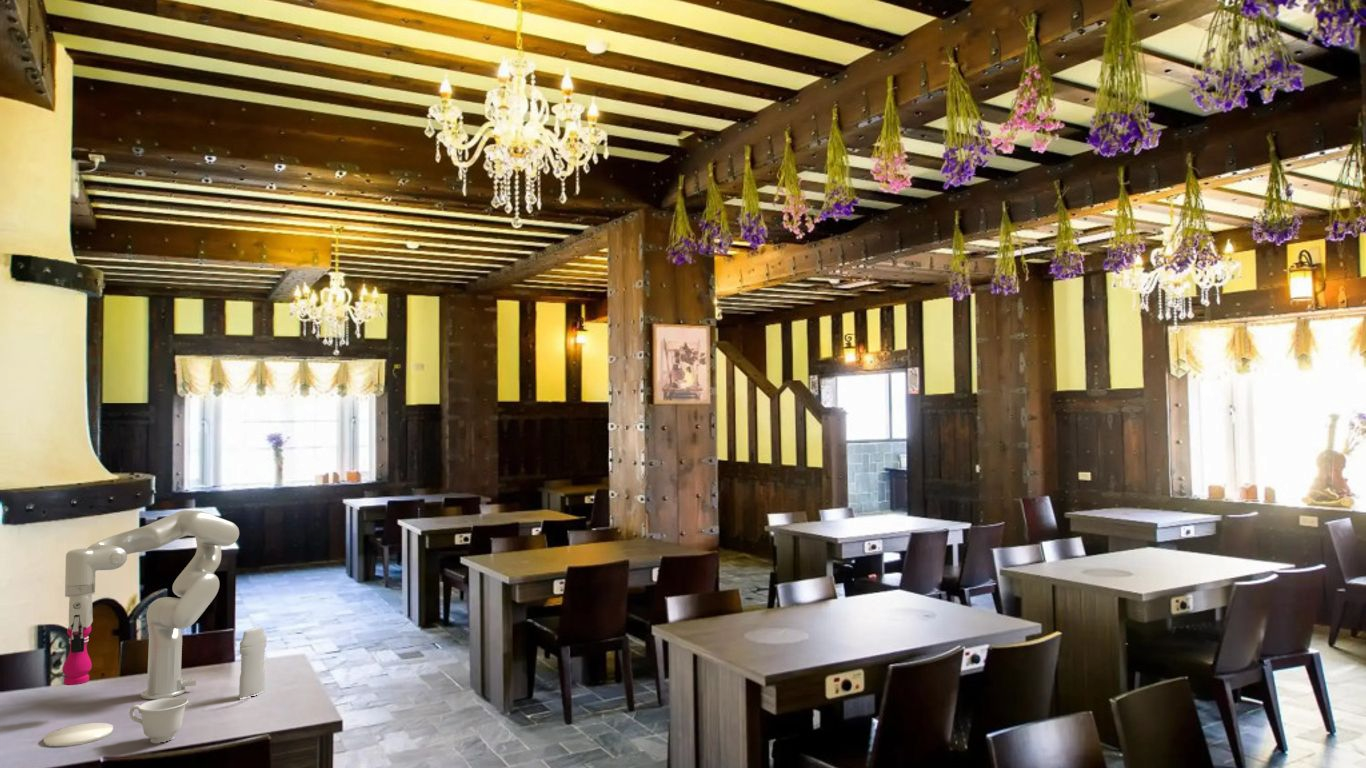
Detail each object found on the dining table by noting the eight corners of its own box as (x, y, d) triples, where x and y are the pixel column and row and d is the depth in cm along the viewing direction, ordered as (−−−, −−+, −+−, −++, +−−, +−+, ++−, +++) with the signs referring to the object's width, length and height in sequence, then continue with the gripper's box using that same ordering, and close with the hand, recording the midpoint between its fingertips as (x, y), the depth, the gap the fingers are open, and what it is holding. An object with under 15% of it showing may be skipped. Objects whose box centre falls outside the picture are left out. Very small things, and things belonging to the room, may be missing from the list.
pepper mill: (75, 686, 252) (79, 619, 253) (55, 685, 254) (59, 617, 255) (96, 680, 259) (100, 614, 260) (77, 678, 261) (81, 612, 262)
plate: (116, 723, 250) (116, 719, 250) (108, 740, 236) (108, 736, 236) (50, 732, 243) (50, 728, 243) (37, 750, 229) (38, 746, 229)
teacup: (141, 733, 242) (142, 698, 242) (195, 731, 243) (196, 696, 244) (116, 748, 230) (117, 711, 230) (173, 746, 231) (174, 709, 232)
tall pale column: (243, 701, 272) (245, 631, 273) (233, 699, 273) (235, 630, 275) (269, 691, 282) (271, 624, 283) (259, 690, 283) (261, 624, 285)
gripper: (90, 593, 252) (89, 654, 251) (99, 584, 267) (98, 642, 267) (59, 596, 249) (58, 658, 248) (70, 586, 264) (69, 645, 263)
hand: (79, 649), depth 257 cm, fingers closed on pepper mill, 5 cm apart
